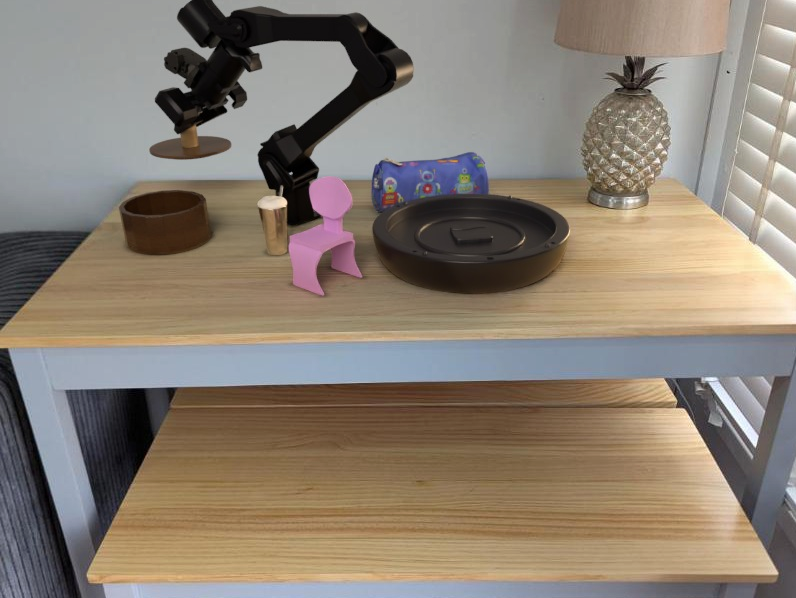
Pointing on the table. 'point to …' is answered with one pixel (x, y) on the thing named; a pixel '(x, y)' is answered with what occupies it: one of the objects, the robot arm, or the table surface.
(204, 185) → the table surface
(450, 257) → the round tray
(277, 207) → the milkshake
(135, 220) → the bowl
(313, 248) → the toy chair
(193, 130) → the lid
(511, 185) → the table surface
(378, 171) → the pencil case
